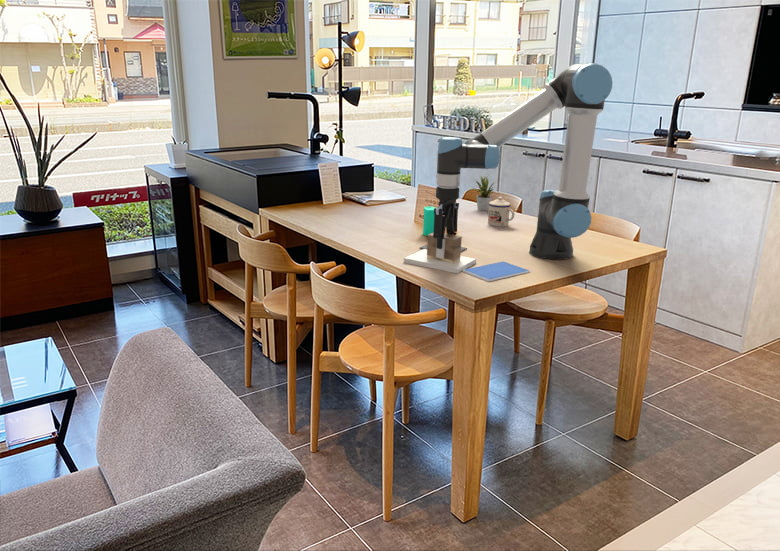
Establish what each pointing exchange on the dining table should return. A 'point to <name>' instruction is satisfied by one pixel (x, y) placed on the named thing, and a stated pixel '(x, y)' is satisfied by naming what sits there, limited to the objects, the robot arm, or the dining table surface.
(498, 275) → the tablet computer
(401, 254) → the dining table surface
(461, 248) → the mat
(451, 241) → the sanding block
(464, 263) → the marked board
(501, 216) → the teacup with lid
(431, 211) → the candle
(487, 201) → the house plant
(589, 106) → the robot arm
